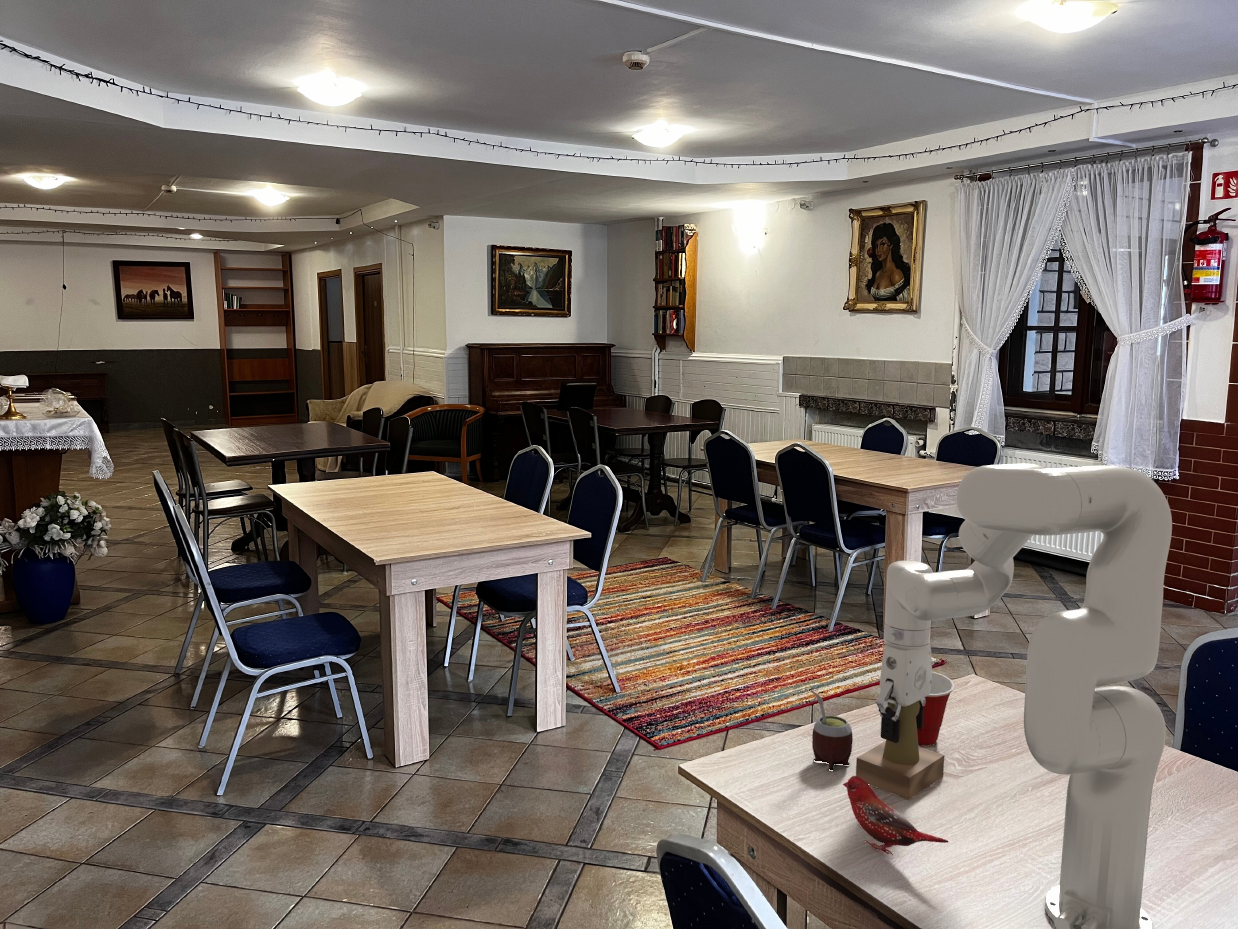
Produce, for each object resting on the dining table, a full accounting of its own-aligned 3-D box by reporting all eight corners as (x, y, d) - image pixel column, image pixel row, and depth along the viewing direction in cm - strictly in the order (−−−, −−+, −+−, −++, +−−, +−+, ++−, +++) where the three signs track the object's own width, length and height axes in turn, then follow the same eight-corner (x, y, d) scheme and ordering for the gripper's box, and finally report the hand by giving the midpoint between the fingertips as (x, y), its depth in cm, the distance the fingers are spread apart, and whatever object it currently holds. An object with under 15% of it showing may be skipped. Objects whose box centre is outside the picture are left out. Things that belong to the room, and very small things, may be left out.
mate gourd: (851, 757, 168) (854, 678, 166) (851, 777, 160) (854, 694, 158) (809, 752, 170) (812, 674, 168) (807, 772, 162) (810, 690, 160)
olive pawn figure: (921, 766, 156) (924, 704, 154) (884, 762, 157) (887, 701, 156) (917, 751, 162) (921, 691, 160) (882, 747, 163) (885, 688, 161)
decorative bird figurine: (846, 828, 143) (848, 768, 142) (951, 879, 130) (955, 812, 129) (834, 835, 142) (837, 773, 140) (941, 886, 128) (945, 819, 127)
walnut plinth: (908, 800, 152) (909, 777, 152) (855, 779, 160) (856, 757, 159) (943, 776, 161) (944, 755, 160) (891, 758, 168) (892, 737, 167)
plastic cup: (890, 748, 172) (893, 686, 170) (891, 725, 182) (894, 667, 180) (952, 756, 169) (956, 693, 167) (949, 732, 179) (953, 673, 177)
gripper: (901, 651, 148) (895, 756, 150) (951, 628, 160) (946, 725, 162) (860, 640, 153) (855, 741, 156) (912, 618, 165) (907, 712, 168)
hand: (901, 732), depth 159 cm, fingers open, 7 cm apart
